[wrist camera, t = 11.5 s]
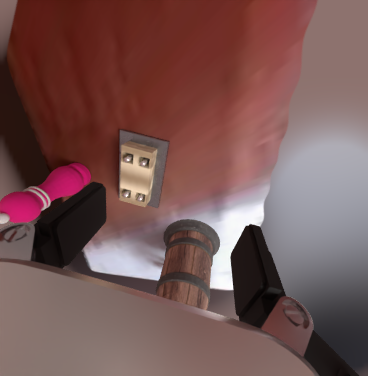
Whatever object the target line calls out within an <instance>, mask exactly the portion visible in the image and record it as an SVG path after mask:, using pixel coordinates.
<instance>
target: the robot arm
mask: <svg viewBox="0 0 368 376" xmlns="http://www.w3.org/2000/svg"><path fill="white" fill-rule="evenodd" d="M105 222H106V188H105V187H104V186H103V184H101V183H97V182H92V183H90V184H89V185H87V186H86V187H85V188H83V189H82V190H80V191H79V192H78V193H76V194H75V195H73V196H72V197H70V198H69V199H68V200H66V201H65V202H63V203H62V204H61V205H59V206H58V207H56V208H55V209H53V210H52V211H51V212H49V213H48V214H46V215H45V216H43V217H42V218H41V219H39V220H38V221H37V223H36V224H35V225H33V224H30V223H26V222H21V223H14V224H10V225H8V226H5V227H3V228H2V229H0V376H359V375H358V374H357V373H356V372H355V371H354V370H353V369H352V368H351V367H350V366H349V365H348V364H347V363H346V362H345V361H344V360H343V359H342V358H341V357H340V356H339V355H338V354H337V353H336V352H335V351H334V350H333V349H332V348H331V347H329V345H328V344H327V343H326V342H325V341H324V340H323V339H322V338H321V337H320V336H319V335H318V334H317V333H316V332H315V331H314V330H313V321H312V318H311V316H310V314H309V313H308V311H307V310H306V309H305V307H304V306H303V305H302V304H301V303H299V302H298V301H296V300H295V299H293V298H291V297H288V296H286V295H285V292H284V289H283V286H282V283H281V280H280V278H279V275H278V272H277V269H276V266H275V264H274V261H273V258H272V255H271V253H270V252H269V251H268V248H267V245H266V242H265V239H264V236H263V233H262V230H261V228H260V227H259V226H256V225H252V224H250V225H249V226H246V227H245V229H244V230H243V232H242V234H241V236H240V238H239V240H238V242H237V244H236V246H235V247H234V249H233V251H232V253H231V268H232V278H233V289H234V299H235V308H236V314H237V315H238V316H239V321H238V320H235V319H232V318H228V317H225V316H222V315H219V314H216V313H213V312H209V311H206V310H203V309H199V308H196V307H193V306H189V305H186V304H183V303H179V302H176V301H172V300H169V299H166V298H162V297H159V296H155V295H152V294H149V293H145V292H142V291H138V290H135V289H131V288H128V287H124V286H121V285H118V284H114V283H111V282H107V281H104V280H100V279H97V278H93V277H90V276H86V275H82V274H79V273H76V272H72V271H69V270H65V269H62V268H63V267H64V266H67V265H69V264H70V263H71V261H72V260H73V259H74V258H75V257H76V256H77V254H78V253H79V252H80V251H81V250H82V249H83V248H84V246H85V245H86V244H87V243H88V242H89V241H90V239H91V238H92V237H93V236H94V235H95V234H96V233H97V231H98V230H99V229H100V228H101V227H102V226H103V224H104V223H105Z"/></svg>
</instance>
